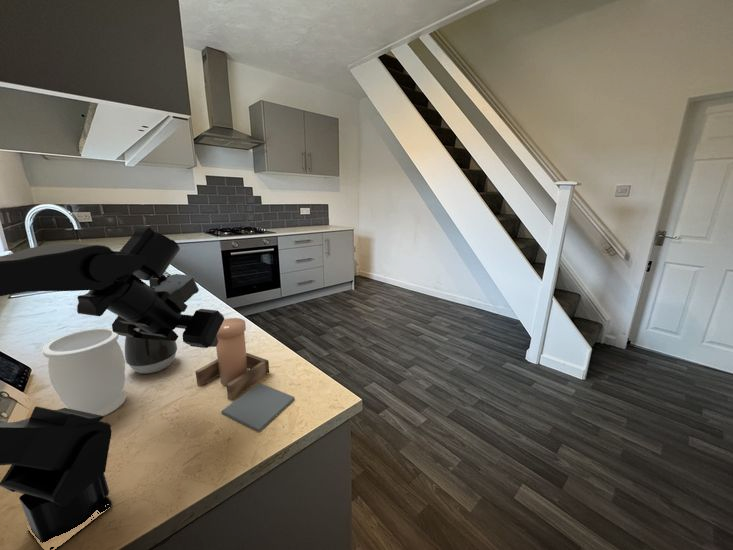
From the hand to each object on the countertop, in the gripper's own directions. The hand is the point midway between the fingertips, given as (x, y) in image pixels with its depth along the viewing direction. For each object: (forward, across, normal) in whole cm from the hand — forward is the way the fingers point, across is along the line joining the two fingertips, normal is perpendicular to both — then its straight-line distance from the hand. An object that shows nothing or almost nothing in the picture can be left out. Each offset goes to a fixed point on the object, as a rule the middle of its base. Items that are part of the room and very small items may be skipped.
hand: (196, 341), depth 58 cm
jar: (+6, +18, +14) cm, 24 cm away
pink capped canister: (+15, -2, +3) cm, 15 cm away
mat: (+11, -13, +8) cm, 18 cm away
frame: (+15, -2, +3) cm, 15 cm away
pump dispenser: (+15, +20, +4) cm, 25 cm away
